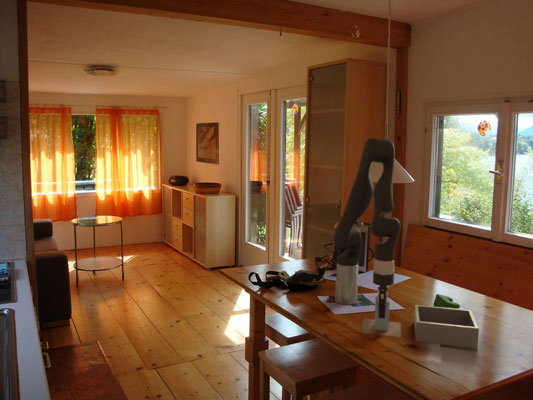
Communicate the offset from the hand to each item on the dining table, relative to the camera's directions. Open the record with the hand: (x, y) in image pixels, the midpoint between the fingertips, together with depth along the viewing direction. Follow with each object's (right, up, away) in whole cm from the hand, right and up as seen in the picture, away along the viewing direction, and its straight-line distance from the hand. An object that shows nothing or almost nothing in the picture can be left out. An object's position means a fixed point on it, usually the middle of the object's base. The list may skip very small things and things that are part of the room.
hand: (381, 314), depth 175 cm
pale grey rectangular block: (0, -5, +1) cm, 5 cm away
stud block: (0, -6, +1) cm, 6 cm away
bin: (+21, -7, -5) cm, 23 cm away
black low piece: (-24, +1, +57) cm, 62 cm away
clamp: (+32, -4, +21) cm, 38 cm away
